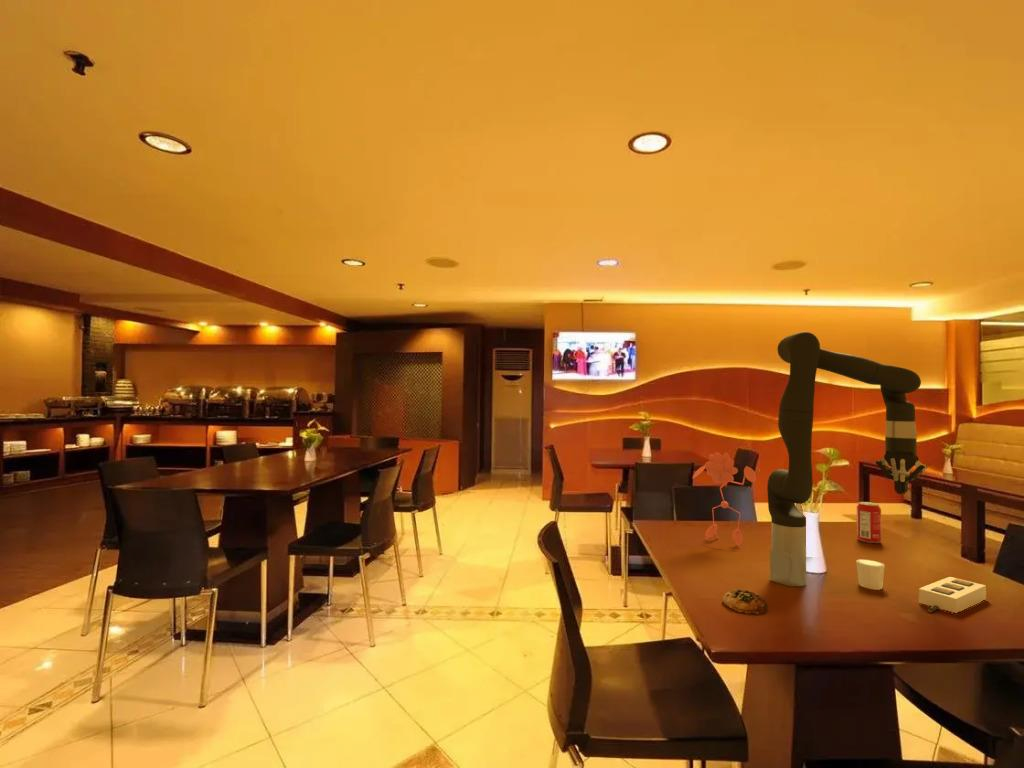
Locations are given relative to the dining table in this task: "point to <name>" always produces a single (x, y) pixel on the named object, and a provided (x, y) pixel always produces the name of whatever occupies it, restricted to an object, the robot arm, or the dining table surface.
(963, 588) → the switch middle
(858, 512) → the soda can
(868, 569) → the white soft cylinder
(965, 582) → the switch
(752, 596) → the bread roll
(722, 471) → the pink stick figure
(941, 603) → the power strip
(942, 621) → the dining table surface
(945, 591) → the switch
